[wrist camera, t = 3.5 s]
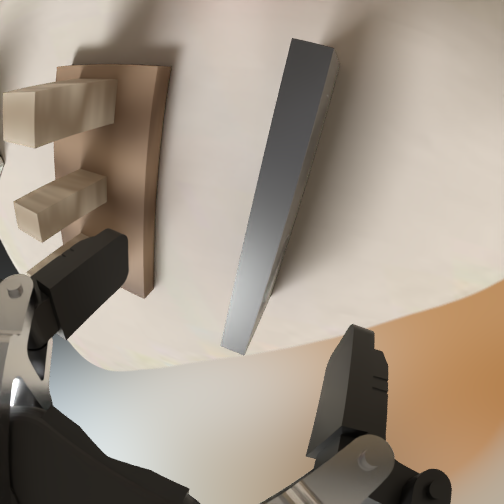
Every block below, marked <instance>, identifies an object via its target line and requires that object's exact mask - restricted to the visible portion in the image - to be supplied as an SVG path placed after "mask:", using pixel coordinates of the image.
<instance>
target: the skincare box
mask: <svg viewBox="0 0 504 504" xmlns="http://www.w3.org/2000/svg"><path fill="white" fill-rule="evenodd" d="M3 165H4V163H3V161H2V159H1V157H0V174H1V171H2V168H3Z"/></svg>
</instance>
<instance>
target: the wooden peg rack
mask: <svg viewBox="0 0 504 504" xmlns="http://www.w3.org/2000/svg"><path fill="white" fill-rule="evenodd" d="M170 72H171V67H167V66H153V65H131V64H91V65H70V66H61V67H57V74H56V82H52V83H46V84H41V85H36V86H31V87H26V88H22V89H17V90H13V91H9V92H5V93H3V139H4V141H6V142H10V143H15V144H19V145H23V146H27V147H31V148H37V147H40V146H43V145H46V144H48V143H51V142H54V163H55V180H54V181H52V182H50V183H48V184H46V185H44V186H42V187H40V188H38V189H36V190H34V191H32V192H30V193H29V194H27V195H25V196H23V197H21V198H19V199H17V200H16V201H14V208H15V213H16V219H17V224H18V228H19V229H20V230H22V231H23V232H25V233H27V234H28V235H30V236H32V237H33V238H35V239H37V240H38V241H40V242H42V243H43V242H44V241H46V240H47V239H49V238H50V237H51V236H53V235H54V234H56V233H57V232H59V231H61V234H62V240H63V246H61V247H60V248H58V249H57V250H56V251H54V252H53V253H52V254H50V255H49V256H47V257H46V258H45V259H43V260H42V261H41V262H39V263H38V264H37V265H35V266H34V267H33V268H32V269H30V270H29V271H28V272H27V275H28V276H29V277H31V276H32V275H33V274H35V273H36V272H37V271H39V270H40V269H41V268H43V267H44V266H45V265H47V264H48V263H49V262H51V261H52V260H54V259H55V258H56V257H58V256H59V255H60V256H61V255H62V253H63V252H65V251H66V250H67V249H68V250H69V249H70V247H72V246H73V245H75V244H76V243H78V242H79V241H81V240H84V239H86V238H89V237H92V236H96V235H97V234H99V233H100V232H102V231H103V230H105V229H107V228H110V229H113V230H115V231H117V232H120V233H122V234H124V235H126V236H127V238H128V259H129V273H128V276H127V279H126V281H125V283H124V284H123V285H122V286H121V288H123V289H125V290H127V291H129V292H131V293H133V294H135V295H137V296H139V297H141V298H144V299H145V298H146V297H147V296H148V294H149V293H150V292H151V291H152V290H153V289H154V230H155V208H156V192H157V178H158V166H159V155H160V145H161V136H162V128H163V119H164V112H165V104H166V98H167V91H168V84H169V78H170Z"/></svg>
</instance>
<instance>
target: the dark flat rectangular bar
mask: <svg viewBox="0 0 504 504" xmlns="http://www.w3.org/2000/svg"><path fill="white" fill-rule="evenodd" d="M339 66H340V64H339V61H338V58H337V55H336V52H335V49H334V48H331V47H328V46H324V45H320V44H316V43H312V42H307V41H303V40H298V39H294V38H292V40H291V44H290V48H289V52H288V57H287V61H286V65H285V69H284V73H283V77H282V81H281V85H280V89H279V93H278V98H277V102H276V106H275V110H274V114H273V118H272V123H271V127H270V131H269V135H268V139H267V144H266V148H265V152H264V156H263V161H262V165H261V169H260V174H259V178H258V182H257V186H256V191H255V195H254V199H253V204H252V208H251V212H250V217H249V221H248V225H247V230H246V234H245V239H244V243H243V247H242V252H241V256H240V261H239V265H238V269H237V274H236V278H235V283H234V287H233V292H232V296H231V301H230V305H229V310H228V314H227V319H226V323H225V328H224V332H223V337H222V342H221V346H222V347H224V348H227V349H229V350H232V351H234V352H237V353H239V354H242V355H245V353H246V350H247V348H248V346H249V344H250V342H251V339H252V337H253V335H254V333H255V330H256V328H257V326H258V324H259V321H260V319H261V317H262V315H263V312H264V310H265V308H266V305H267V303H268V301H269V299H270V296H271V293H272V290H273V287H274V284H275V281H276V278H277V275H278V272H279V269H280V266H281V263H282V260H283V257H284V253H285V250H286V247H287V244H288V241H289V238H290V235H291V231H292V228H293V225H294V222H295V219H296V216H297V212H298V209H299V206H300V203H301V199H302V196H303V193H304V189H305V186H306V183H307V179H308V176H309V173H310V169H311V166H312V163H313V159H314V156H315V152H316V149H317V146H318V142H319V139H320V135H321V132H322V128H323V125H324V121H325V118H326V114H327V110H328V107H329V103H330V100H331V96H332V92H333V89H334V85H335V81H336V77H337V74H338V70H339Z"/></svg>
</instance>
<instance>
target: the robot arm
mask: <svg viewBox="0 0 504 504" xmlns="http://www.w3.org/2000/svg"><path fill="white" fill-rule="evenodd" d="M128 273H129V259H128V238H127V236H126V235H124V234H122V233H120V232H117V231H115V230H113V229H110V228H107V229H105V230H103V231H102V232H100V233H99V234H97V235H96V236H92V237H89V238H86V239H84V240H81V241H79V242H78V243H76V244H75V245H73V246H72V247H70V249H69V250H68V249H67V250H66V251H65V252H63V253H62V255H61V256H60V255H59V256H58V257H56V258H55V259H54V260H52V261H51V262H49V263H48V264H47V265H45V266H44V267H43V268H41V269H40V270H39V271H37V272H36V273H35V274H33V275H32V276H31V277H29V276H27V275H24V274H15V275H12V276H9V277H7V278H6V279H4V280H2V279H0V504H200V503H199V502H198V501H197V500H196V499H194V498H193V497H192V496H190V495H189V494H188V493H189V488H187V487H184V486H182V485H180V484H178V483H176V482H173V481H171V480H169V479H167V478H165V477H163V476H161V475H159V474H157V473H155V472H153V471H151V470H148V469H145V468H141V467H138V466H134V465H131V464H128V463H125V462H121V461H118V460H115V459H112V458H110V457H108V456H106V455H105V454H104V453H103V452H102V451H101V450H100V449H99V448H98V447H97V446H96V444H95V443H94V442H93V441H92V440H91V439H90V438H89V437H88V436H87V434H86V433H85V432H84V431H83V430H82V429H81V428H80V426H78V425H77V424H76V423H74V422H73V421H72V420H70V419H69V418H67V417H66V416H65V415H64V414H62V413H61V412H60V411H59V410H57V409H56V408H55V407H54V406H53V404H52V399H51V395H50V391H49V376H50V363H51V354H52V345H53V341H52V337H53V336H54V334H56V333H57V334H58V335H59V336H61V337H62V338H63V339H65V340H67V339H68V338H69V337H70V336H71V335H72V334H73V333H74V332H75V331H76V330H77V329H78V328H79V327H80V326H81V325H82V324H83V323H84V322H85V321H86V320H87V319H88V318H89V317H90V316H91V315H92V314H93V313H94V312H95V311H96V310H97V309H98V308H99V307H100V306H101V305H102V304H103V303H104V302H105V301H106V300H107V299H108V298H109V297H111V296H112V295H113V294H114V293H115V292H116V291H117V290H118V289H119V288H120V287H121V286H122V285H123V284H124V283H125V281H126V279H127V276H128ZM387 381H388V364H387V362H386V359H385V357H384V354H383V352H382V351H379V350H375V349H374V332H373V331H371V330H368V329H365V328H362V327H359V326H357V325H354V324H352V325H350V327H349V328H348V330H347V331H346V333H345V335H344V336H343V338H342V339H341V341H340V343H339V344H338V346H337V347H336V349H335V350H334V352H333V353H332V355H331V357H330V360H329V362H328V364H327V368H326V372H325V376H324V381H323V386H322V391H321V396H320V400H319V405H318V409H317V413H316V418H315V422H314V426H313V430H312V434H311V438H310V442H309V446H308V450H307V454H306V456H307V457H310V458H314V459H316V461H315V465H314V469H313V470H311V471H310V472H308V473H307V474H305V475H304V476H303V477H301V478H300V479H298V480H297V481H295V482H294V483H292V484H291V485H289V486H288V487H286V488H285V489H283V490H281V491H280V492H278V493H276V494H275V495H273V496H271V497H270V498H268V499H266V500H265V501H263V502H261V503H260V504H450V502H451V491H452V488H451V483H450V480H449V478H448V477H447V475H445V474H444V473H443V472H442V471H440V470H438V469H429V470H426V471H424V472H422V473H420V474H419V473H417V472H415V471H414V470H412V469H410V468H408V467H406V466H404V465H402V464H401V463H399V462H398V461H396V460H395V459H394V453H393V450H392V448H391V447H390V445H389V444H388V443H387V442H386V422H387V401H388V400H387V399H388V394H387V392H388V382H387Z"/></svg>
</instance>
